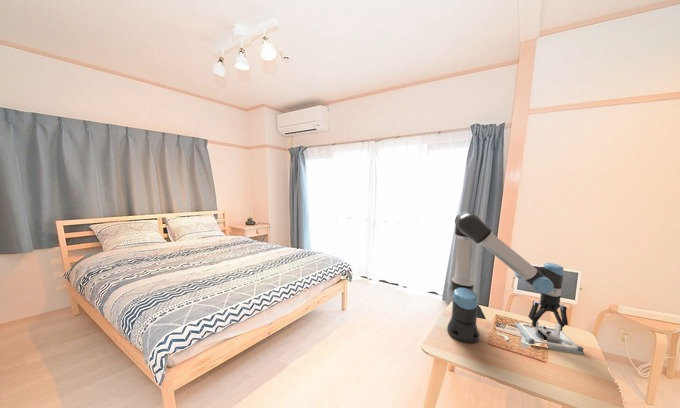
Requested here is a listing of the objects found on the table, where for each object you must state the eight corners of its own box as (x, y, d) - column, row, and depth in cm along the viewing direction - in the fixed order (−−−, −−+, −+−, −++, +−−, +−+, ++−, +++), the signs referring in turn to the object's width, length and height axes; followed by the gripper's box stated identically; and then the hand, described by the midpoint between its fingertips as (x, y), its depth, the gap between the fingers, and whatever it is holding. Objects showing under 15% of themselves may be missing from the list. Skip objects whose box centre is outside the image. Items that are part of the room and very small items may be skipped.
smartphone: (473, 316, 142) (467, 303, 156) (472, 317, 142) (467, 304, 156) (485, 318, 139) (479, 305, 154) (485, 320, 140) (479, 306, 154)
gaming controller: (564, 342, 116) (555, 332, 116) (554, 349, 117) (544, 340, 117) (546, 328, 128) (538, 319, 128) (537, 335, 128) (528, 326, 128)
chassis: (530, 345, 117) (530, 340, 117) (513, 324, 135) (514, 319, 134) (584, 354, 112) (584, 349, 111) (559, 331, 129) (560, 326, 129)
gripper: (529, 293, 120) (525, 334, 122) (581, 300, 114) (576, 343, 117) (522, 287, 127) (518, 326, 129) (571, 293, 121) (566, 333, 124)
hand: (545, 334), depth 123 cm, fingers open, 9 cm apart
